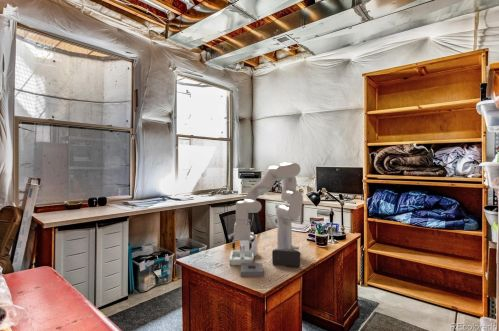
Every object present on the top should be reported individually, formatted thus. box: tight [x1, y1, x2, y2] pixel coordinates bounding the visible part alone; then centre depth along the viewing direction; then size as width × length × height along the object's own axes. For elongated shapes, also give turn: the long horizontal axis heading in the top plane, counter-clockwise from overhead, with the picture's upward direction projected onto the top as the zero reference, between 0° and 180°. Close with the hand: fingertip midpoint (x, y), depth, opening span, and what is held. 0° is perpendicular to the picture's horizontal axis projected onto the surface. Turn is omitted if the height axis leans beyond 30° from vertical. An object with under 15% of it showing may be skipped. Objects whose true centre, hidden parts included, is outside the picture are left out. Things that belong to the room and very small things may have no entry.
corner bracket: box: [239, 231, 258, 256], centre depth 187 cm, size 11×11×12 cm
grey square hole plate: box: [240, 262, 264, 277], centre depth 154 cm, size 12×12×3 cm
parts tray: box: [229, 250, 255, 266], centre depth 171 cm, size 14×16×4 cm
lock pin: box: [239, 244, 245, 259], centre depth 171 cm, size 3×3×9 cm
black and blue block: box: [271, 248, 301, 268], centre depth 164 cm, size 16×5×9 cm, turn 78°
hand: (242, 249), depth 171 cm, fingers open, 9 cm apart
